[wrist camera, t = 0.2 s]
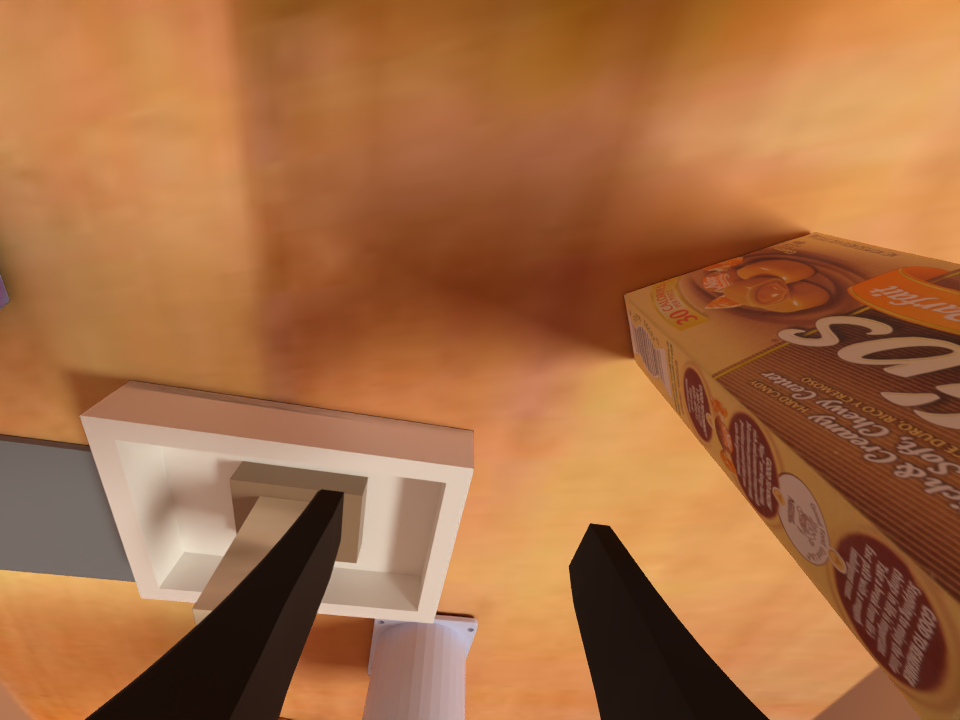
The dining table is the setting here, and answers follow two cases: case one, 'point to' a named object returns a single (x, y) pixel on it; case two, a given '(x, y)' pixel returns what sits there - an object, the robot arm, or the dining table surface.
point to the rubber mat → (56, 512)
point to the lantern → (3, 294)
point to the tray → (280, 490)
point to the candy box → (834, 428)
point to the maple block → (248, 549)
